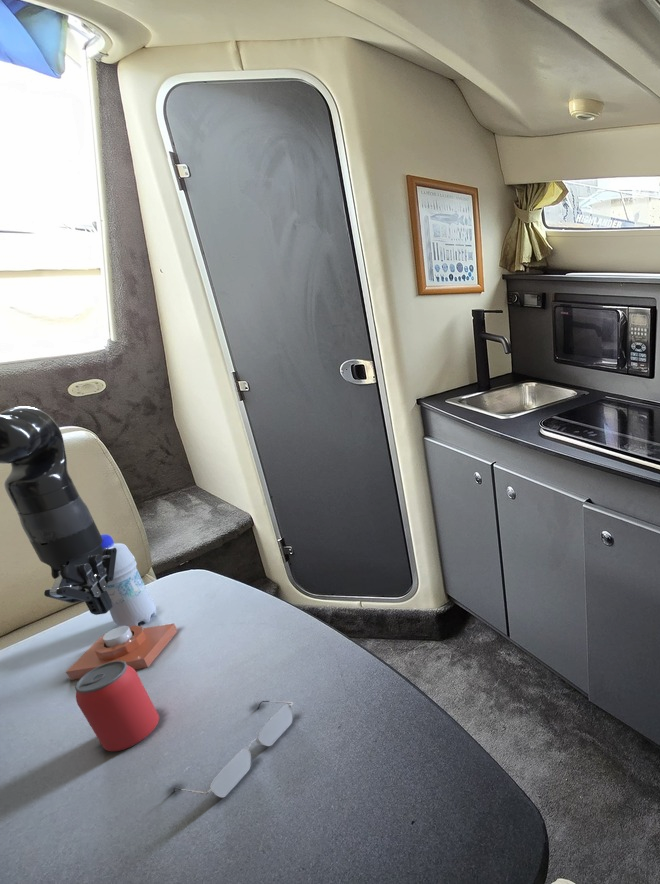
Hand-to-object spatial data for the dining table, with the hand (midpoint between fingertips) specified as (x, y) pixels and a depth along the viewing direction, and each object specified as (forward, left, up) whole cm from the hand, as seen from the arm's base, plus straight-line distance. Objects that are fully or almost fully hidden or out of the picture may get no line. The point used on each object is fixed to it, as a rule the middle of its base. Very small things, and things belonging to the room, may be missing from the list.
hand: (103, 611), depth 87 cm
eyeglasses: (+30, -26, -11) cm, 41 cm away
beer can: (+12, -19, -10) cm, 25 cm away
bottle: (-4, +10, -10) cm, 15 cm away
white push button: (0, 0, -7) cm, 7 cm away
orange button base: (0, 0, -10) cm, 10 cm away
